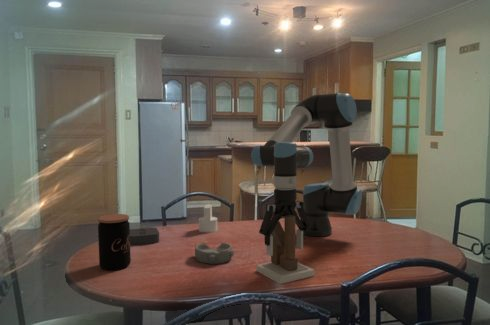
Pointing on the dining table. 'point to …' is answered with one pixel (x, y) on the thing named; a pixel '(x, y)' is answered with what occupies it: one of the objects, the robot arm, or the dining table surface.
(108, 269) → the coffee jar
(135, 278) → the dining table surface
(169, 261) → the dining table surface
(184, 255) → the dining table surface
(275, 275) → the stand
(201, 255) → the dish
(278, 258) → the wooden block
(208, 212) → the base with upright slab
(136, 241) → the streaming box
